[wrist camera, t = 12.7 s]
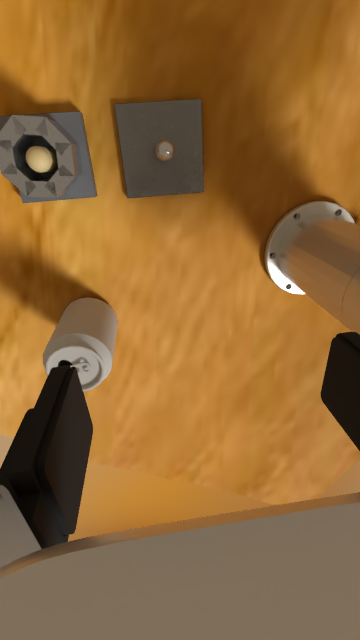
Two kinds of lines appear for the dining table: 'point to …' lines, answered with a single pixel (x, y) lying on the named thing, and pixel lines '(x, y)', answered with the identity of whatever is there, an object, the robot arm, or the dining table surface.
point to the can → (84, 341)
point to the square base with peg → (45, 157)
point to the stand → (161, 147)
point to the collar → (19, 136)
